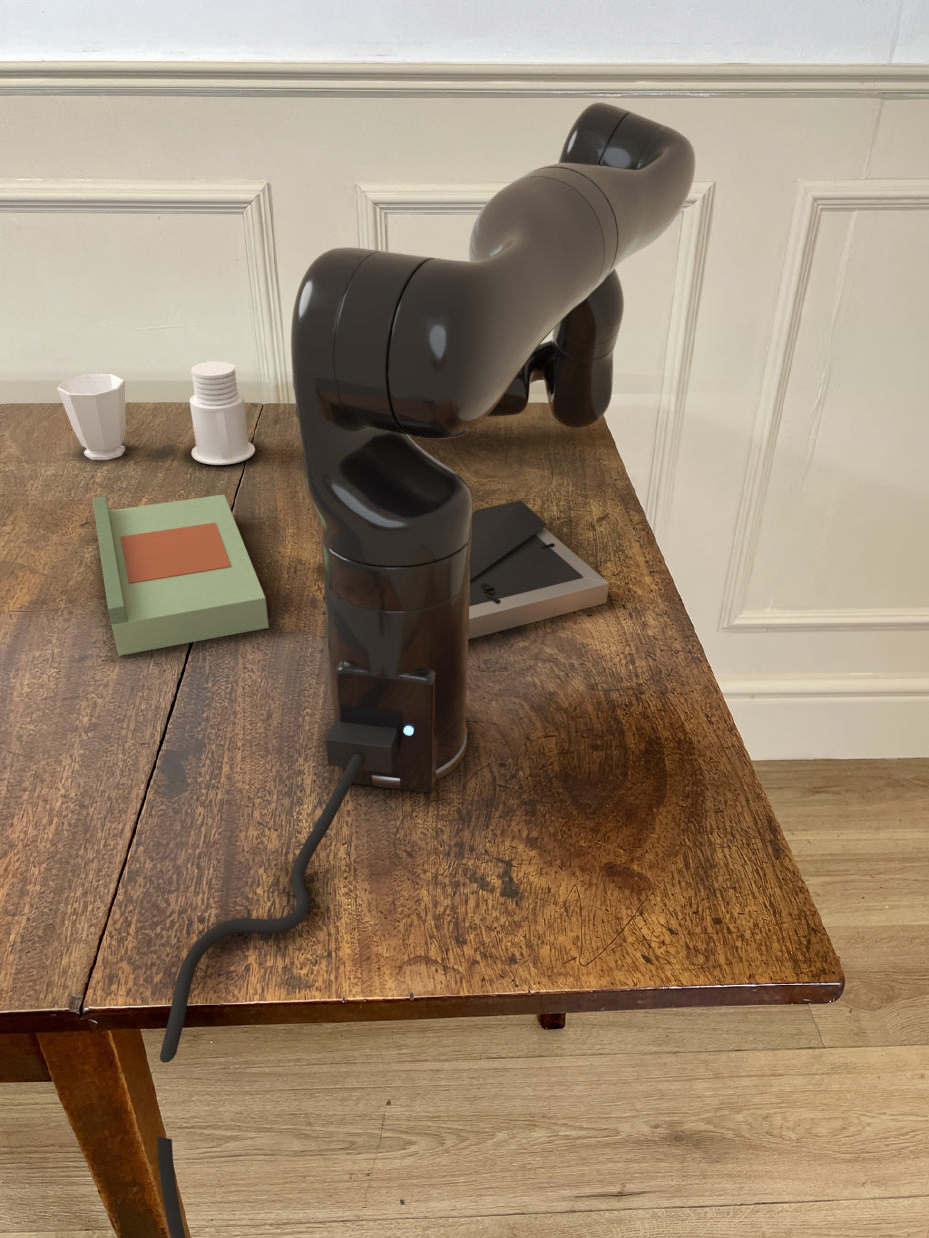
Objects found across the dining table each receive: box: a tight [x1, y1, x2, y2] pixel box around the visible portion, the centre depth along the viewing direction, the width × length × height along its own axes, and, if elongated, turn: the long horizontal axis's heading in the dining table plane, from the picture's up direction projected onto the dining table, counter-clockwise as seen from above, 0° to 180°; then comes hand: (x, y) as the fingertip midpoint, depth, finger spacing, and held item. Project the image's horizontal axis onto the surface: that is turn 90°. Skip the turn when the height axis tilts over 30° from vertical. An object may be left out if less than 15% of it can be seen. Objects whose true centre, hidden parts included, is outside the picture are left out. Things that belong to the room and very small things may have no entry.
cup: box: [56, 373, 127, 461], centre depth 106 cm, size 7×10×8 cm
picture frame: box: [321, 500, 610, 641], centre depth 84 cm, size 16×3×21 cm
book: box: [92, 494, 270, 657], centre depth 83 cm, size 12×20×4 cm, turn 21°
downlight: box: [189, 360, 256, 466], centre depth 104 cm, size 8×7×10 cm
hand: (294, 395), depth 105 cm, fingers open, 8 cm apart
